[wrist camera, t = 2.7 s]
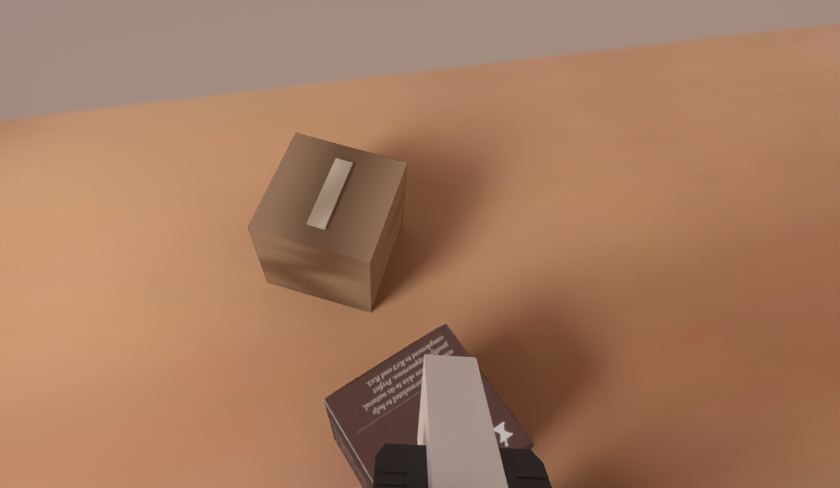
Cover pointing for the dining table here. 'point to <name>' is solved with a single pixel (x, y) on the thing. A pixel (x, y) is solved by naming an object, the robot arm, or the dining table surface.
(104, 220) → the dining table surface
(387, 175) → the marked block one
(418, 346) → the box
